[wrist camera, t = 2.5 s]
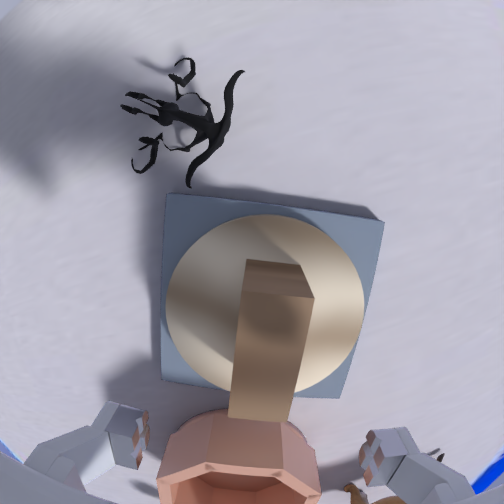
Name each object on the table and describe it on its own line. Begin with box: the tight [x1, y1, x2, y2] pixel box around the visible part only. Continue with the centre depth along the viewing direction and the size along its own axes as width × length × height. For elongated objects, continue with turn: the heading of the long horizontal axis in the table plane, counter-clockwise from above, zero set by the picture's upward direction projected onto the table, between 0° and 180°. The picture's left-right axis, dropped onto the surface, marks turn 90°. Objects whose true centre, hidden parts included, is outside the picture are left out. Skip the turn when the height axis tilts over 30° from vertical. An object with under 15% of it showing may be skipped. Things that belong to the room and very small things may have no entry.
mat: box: [161, 193, 385, 399], centre depth 20 cm, size 13×13×1 cm
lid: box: [166, 214, 364, 422], centre depth 17 cm, size 12×12×6 cm
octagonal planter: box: [156, 409, 322, 504], centre depth 21 cm, size 12×12×6 cm
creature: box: [120, 58, 245, 188], centre depth 16 cm, size 8×5×8 cm
